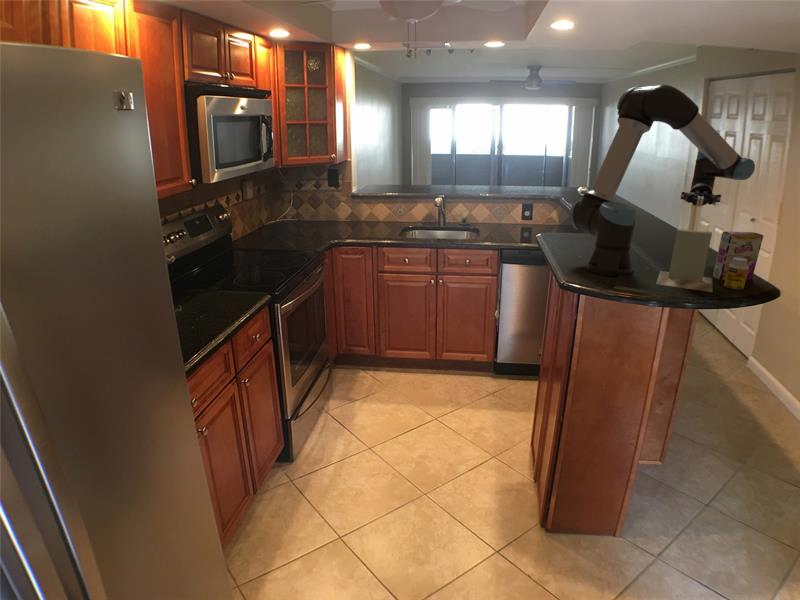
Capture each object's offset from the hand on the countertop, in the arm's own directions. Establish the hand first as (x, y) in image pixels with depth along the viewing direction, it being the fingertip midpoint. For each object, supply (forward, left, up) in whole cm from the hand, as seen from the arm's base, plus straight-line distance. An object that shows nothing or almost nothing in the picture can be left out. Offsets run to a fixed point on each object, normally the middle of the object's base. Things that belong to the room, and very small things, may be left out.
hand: (699, 202), depth 181 cm
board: (0, -13, -25) cm, 28 cm away
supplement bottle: (+14, -12, -25) cm, 31 cm away
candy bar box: (+14, 0, -25) cm, 29 cm away
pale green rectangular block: (0, -10, -24) cm, 26 cm away
